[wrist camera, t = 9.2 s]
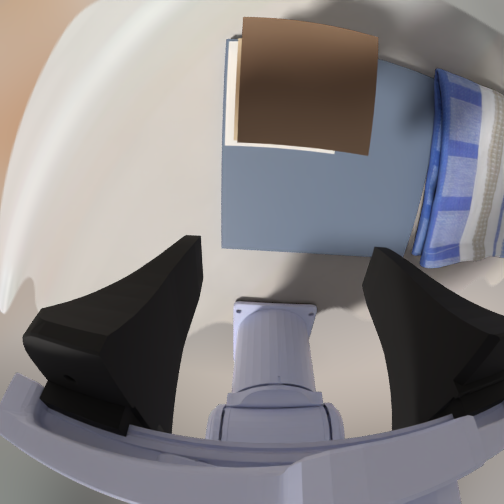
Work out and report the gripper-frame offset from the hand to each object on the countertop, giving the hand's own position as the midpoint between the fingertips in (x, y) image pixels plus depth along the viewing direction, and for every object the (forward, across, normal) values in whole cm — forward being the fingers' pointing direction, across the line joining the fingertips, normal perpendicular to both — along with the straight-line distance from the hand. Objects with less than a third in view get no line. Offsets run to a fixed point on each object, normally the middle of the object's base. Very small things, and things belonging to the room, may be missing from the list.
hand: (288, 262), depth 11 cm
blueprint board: (+10, -4, -3) cm, 11 cm away
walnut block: (+5, 0, -7) cm, 8 cm away
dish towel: (+10, -23, -4) cm, 26 cm away
